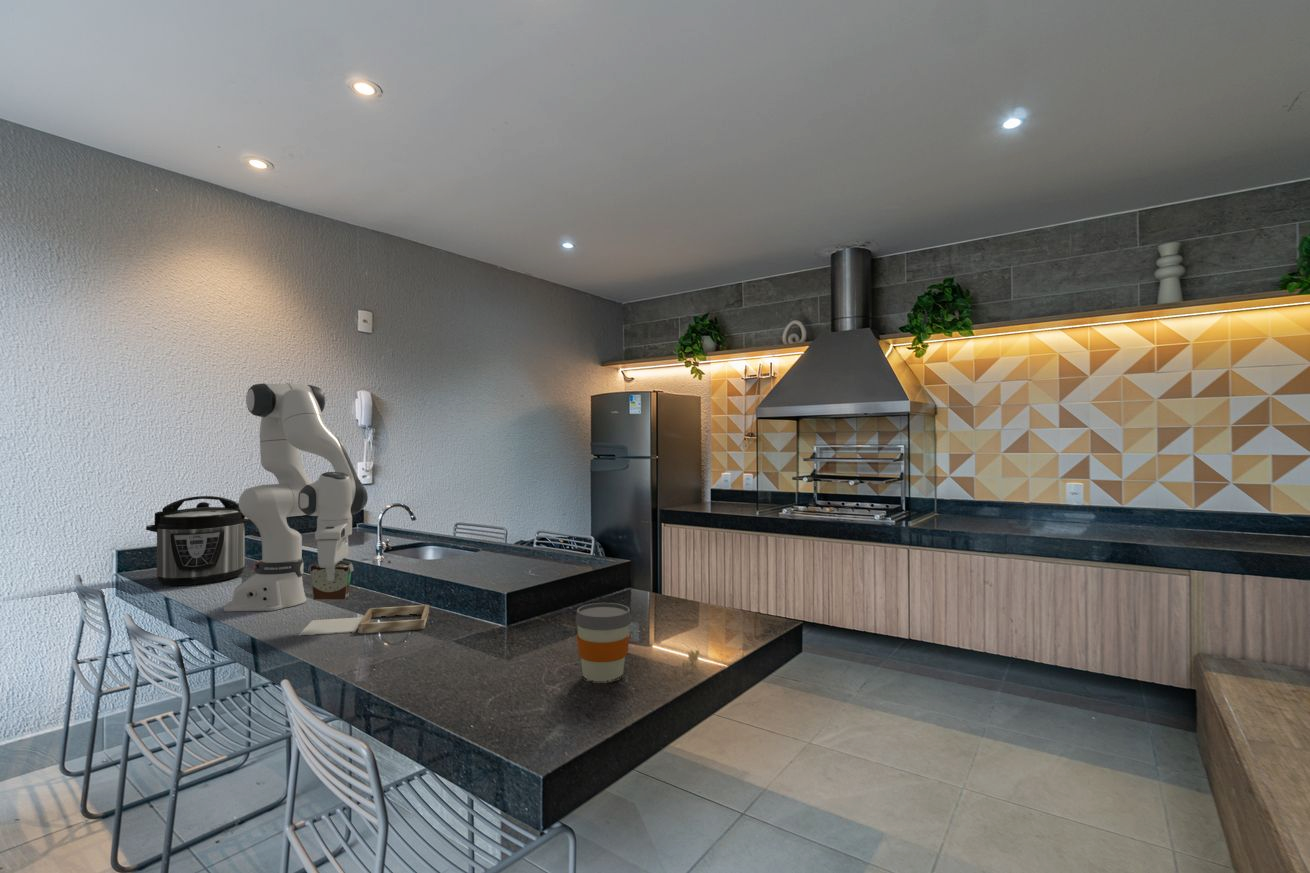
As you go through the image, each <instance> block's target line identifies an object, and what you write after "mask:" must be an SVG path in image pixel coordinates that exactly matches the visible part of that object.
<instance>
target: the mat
mask: <svg viewBox="0 0 1310 873" xmlns="http://www.w3.org/2000/svg"><path fill="white" fill-rule="evenodd" d="M363 617H364V616H361V617H360V616H359V617H345V618H344V617H343V618H331V619H330V618H329V619H328V618H327V619H312V620H311V621H310V622H309V623H308V625H306V627H305V628H303V630H302V631H301V632H300V633H299V634H298V637H301V636H300V635H310V636H316V635H315V634H324V635H333V634H335V633H338V634H349V633H350V632H352V633H356V632H358V624H359V623H360V621H361V620H362V618H363ZM335 635H336V634H335Z"/></svg>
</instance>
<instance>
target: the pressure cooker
mask: <svg viewBox="0 0 1310 873" xmlns="http://www.w3.org/2000/svg"><path fill="white" fill-rule="evenodd" d="M195 500H196V501H197V500H214V501H216V500H217V501H219V502H220V503H221V505H222V507H220V506H210V502H204V501H203V502H199V503H197V504H196V506H195V507H191V508H190V507H189V508H183V509H179V508H180V507H181V506H183V504H184V502H189V501H195ZM246 524H254V523H253V522H252V521H251V520H250V519H248V518H246V517H245V516H244V515H243V514H242V513H241V511H240V509H239V502H236V501H235V500H232V499H229V498H225V497H222V496H221V497H220V496H214V495H201V496H192V497H191V496H189V497H185V498H182V499H179V500H176V501H173V502H171V503H169V504H166V505H165V506H163V508H162V510H161V511H157V512H155V513H154V524H150V525H146V526H145V531H149V532H153V533H156V576H157V579H158V581H159V582H160V583H161V584H164V585H168V586H170V585H171V586H173V585H174V586H189V585H191V586H192V585H199V584H208V583H209V584H210V583H214V582H220V581H225V580H230V579H233V578H236V577H239V576H240V575H242V573H243V572H244V570H245V562H246V561H245V558H246V557H245V556H246V552H245V551H246V550H245V548H246V545H245V544H246V542H245V541H246V539H245V538H246V536H245V535H246V532H245V531H246Z"/></svg>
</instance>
